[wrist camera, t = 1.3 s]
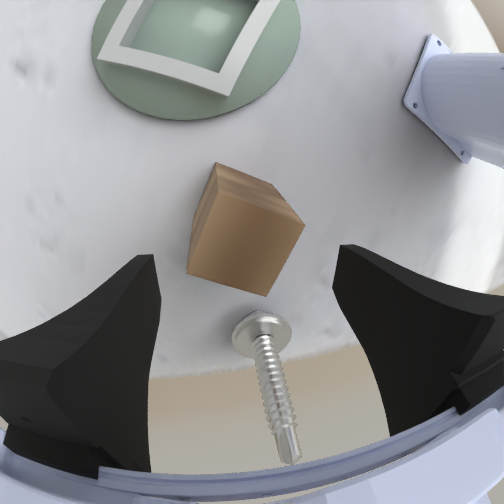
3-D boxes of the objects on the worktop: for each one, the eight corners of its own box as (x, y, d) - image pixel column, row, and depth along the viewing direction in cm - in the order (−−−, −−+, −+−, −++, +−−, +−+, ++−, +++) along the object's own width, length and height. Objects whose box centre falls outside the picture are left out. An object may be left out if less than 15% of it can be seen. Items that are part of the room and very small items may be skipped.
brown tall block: (272, 184, 18) (305, 225, 12) (247, 236, 20) (266, 296, 13) (215, 162, 17) (218, 191, 11) (193, 217, 18) (186, 273, 12)
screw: (285, 295, 22) (285, 336, 25) (226, 303, 22) (233, 344, 24) (341, 441, 11) (327, 465, 13) (246, 461, 11) (253, 480, 13)
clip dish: (326, -6, 12) (340, -17, 10) (247, 149, 17) (252, 154, 15) (152, -58, 8) (147, -74, 6) (67, 93, 13) (49, 92, 11)
